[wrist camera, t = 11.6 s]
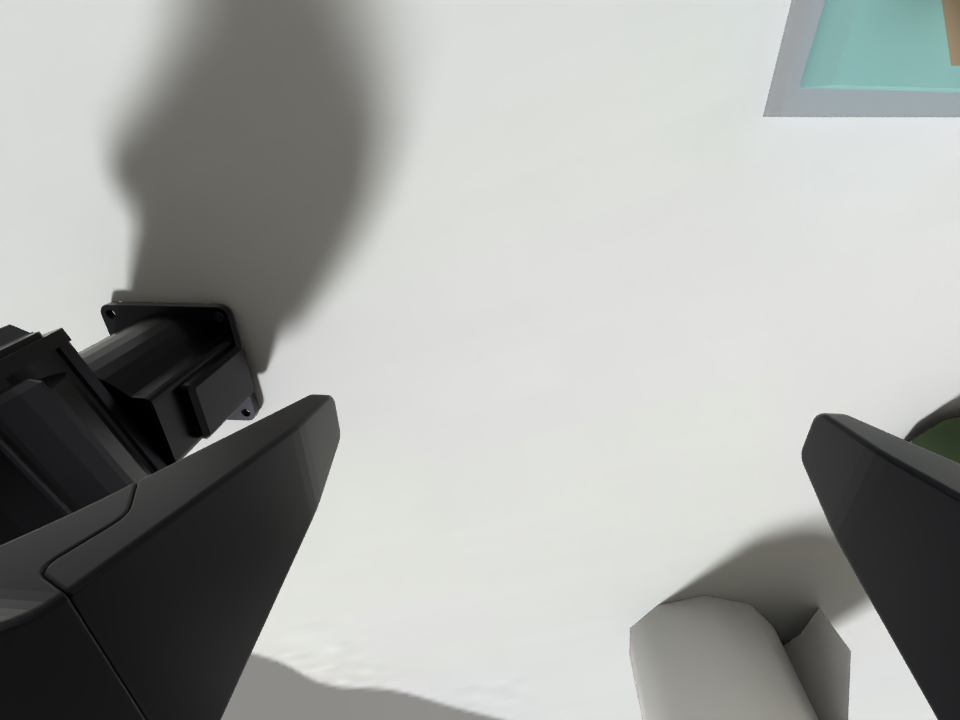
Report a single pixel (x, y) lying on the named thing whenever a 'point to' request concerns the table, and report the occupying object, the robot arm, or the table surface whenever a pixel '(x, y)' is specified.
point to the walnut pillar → (952, 29)
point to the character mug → (942, 439)
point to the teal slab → (881, 47)
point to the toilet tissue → (736, 665)
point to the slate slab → (838, 102)
